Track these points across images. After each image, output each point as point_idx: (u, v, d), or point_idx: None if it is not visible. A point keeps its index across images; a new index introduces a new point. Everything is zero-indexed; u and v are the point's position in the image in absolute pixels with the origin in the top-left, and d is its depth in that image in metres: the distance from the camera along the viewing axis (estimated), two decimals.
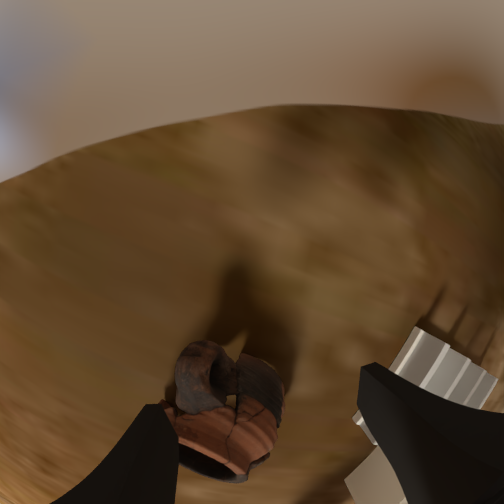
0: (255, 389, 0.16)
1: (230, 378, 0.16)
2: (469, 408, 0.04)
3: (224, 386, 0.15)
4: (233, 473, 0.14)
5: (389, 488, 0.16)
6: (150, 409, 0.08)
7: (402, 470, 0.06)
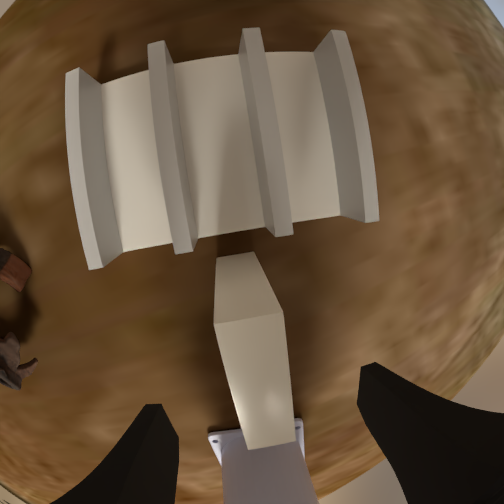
0: None
1: None
2: (469, 408, 0.04)
3: None
4: None
5: None
6: (150, 409, 0.08)
7: (402, 470, 0.06)
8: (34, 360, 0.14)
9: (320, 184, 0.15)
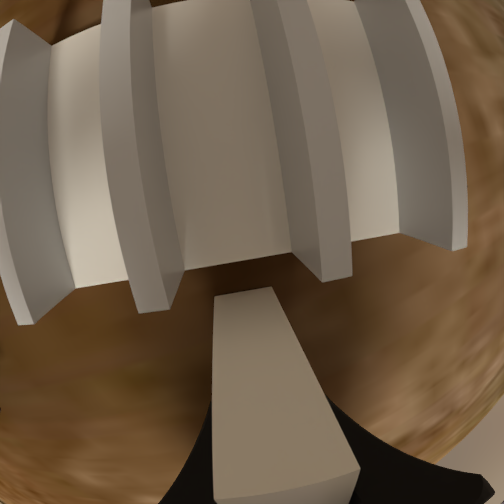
0: None
1: None
2: (394, 451, 0.04)
3: None
4: None
5: None
6: None
7: None
8: None
9: (375, 185, 0.09)
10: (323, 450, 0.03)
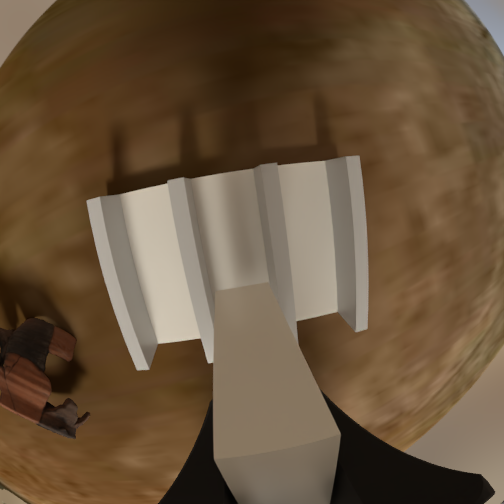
0: (16, 345, 0.14)
1: (5, 345, 0.14)
2: (394, 451, 0.04)
3: (1, 353, 0.13)
4: None
5: None
6: None
7: None
8: (87, 414, 0.16)
9: (322, 289, 0.18)
10: (308, 417, 0.04)
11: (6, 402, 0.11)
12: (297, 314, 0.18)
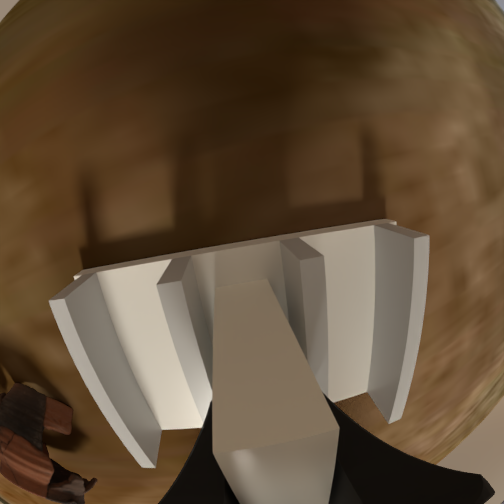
0: (7, 418, 0.10)
1: None
2: (394, 451, 0.04)
3: None
4: None
5: None
6: None
7: (330, 498, 0.05)
8: (94, 480, 0.12)
9: (353, 374, 0.14)
10: (307, 411, 0.04)
11: (8, 476, 0.07)
12: None
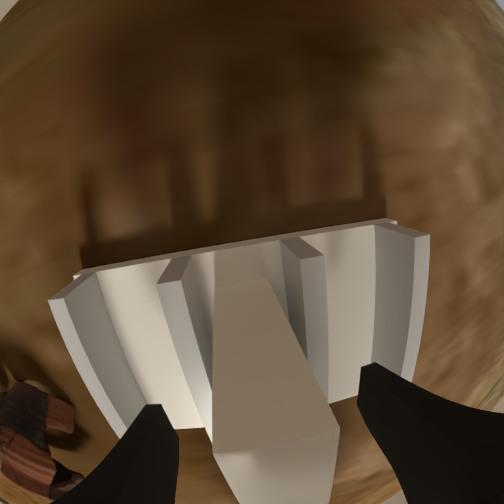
0: (9, 417, 0.10)
1: None
2: (469, 408, 0.04)
3: None
4: None
5: None
6: (150, 409, 0.08)
7: (402, 470, 0.06)
8: None
9: (354, 374, 0.14)
10: (307, 412, 0.04)
11: (9, 476, 0.07)
12: None
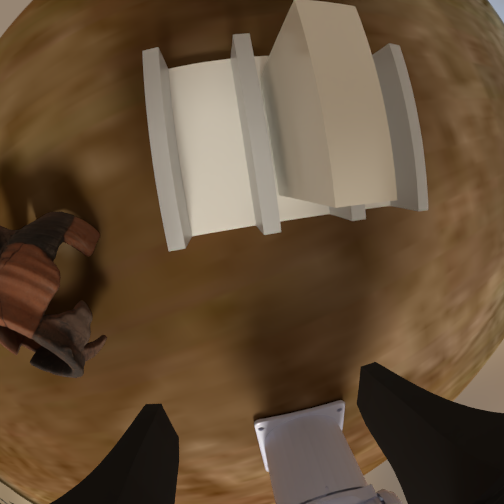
0: (21, 235, 0.12)
1: (5, 243, 0.12)
2: (469, 408, 0.04)
3: None
4: None
5: (291, 87, 0.09)
6: (150, 409, 0.08)
7: (402, 470, 0.06)
8: (102, 337, 0.14)
9: None
10: None
11: None
12: None
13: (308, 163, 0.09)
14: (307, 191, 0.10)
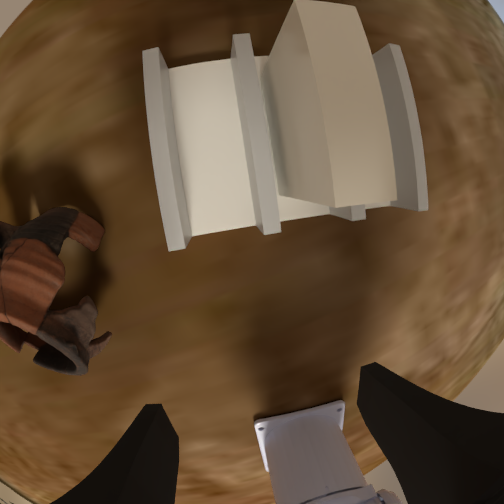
0: (24, 230, 0.12)
1: (8, 239, 0.12)
2: (469, 408, 0.04)
3: (1, 247, 0.11)
4: None
5: (291, 87, 0.09)
6: (150, 409, 0.08)
7: (402, 470, 0.06)
8: (107, 334, 0.14)
9: None
10: None
11: None
12: None
13: (308, 163, 0.09)
14: (307, 191, 0.10)
